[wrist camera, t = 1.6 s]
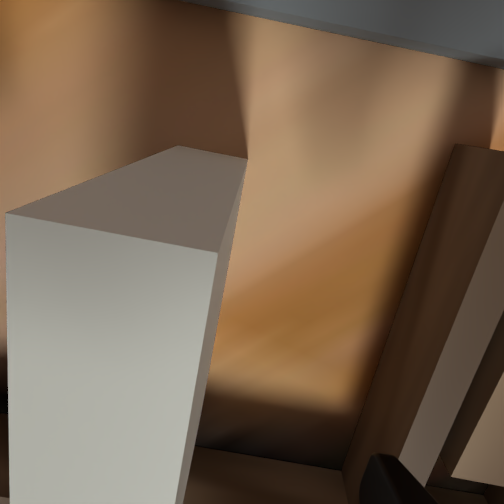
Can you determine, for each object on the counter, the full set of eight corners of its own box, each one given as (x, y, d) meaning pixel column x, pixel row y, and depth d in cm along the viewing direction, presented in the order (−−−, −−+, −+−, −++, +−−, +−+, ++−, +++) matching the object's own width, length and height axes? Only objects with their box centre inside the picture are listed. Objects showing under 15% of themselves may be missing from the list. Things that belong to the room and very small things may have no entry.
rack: (-38, 427, 15) (-109, 503, 12) (-62, 38, 10) (-183, 10, 8) (498, 518, 15) (550, 608, 13) (679, 189, 11) (820, 215, 8)
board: (145, 402, 14) (12, 731, 7) (177, 145, 11) (4, 213, 4) (201, 411, 14) (132, 748, 7) (248, 158, 11) (218, 253, 4)
